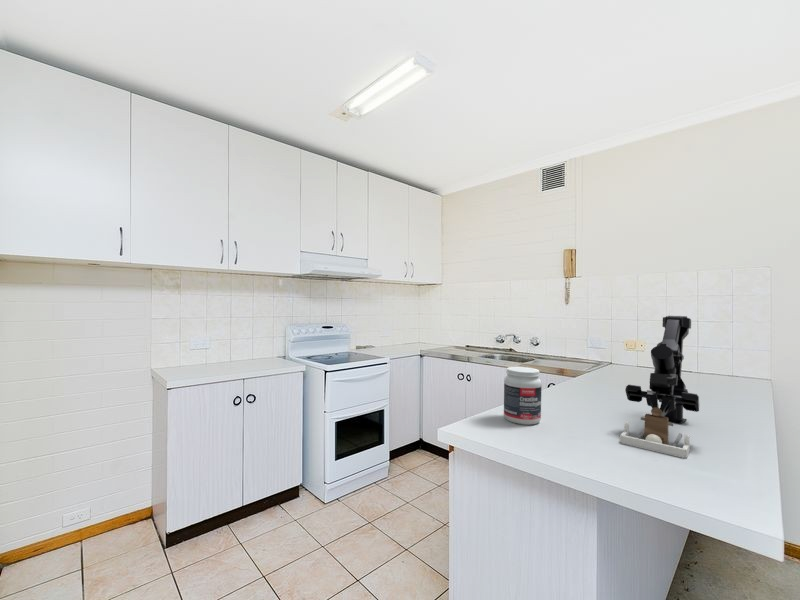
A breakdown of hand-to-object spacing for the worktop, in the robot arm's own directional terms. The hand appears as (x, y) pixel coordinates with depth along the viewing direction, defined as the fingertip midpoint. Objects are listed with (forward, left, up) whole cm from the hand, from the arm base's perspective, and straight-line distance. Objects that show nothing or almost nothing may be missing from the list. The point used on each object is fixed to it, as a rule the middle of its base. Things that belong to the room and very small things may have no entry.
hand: (657, 420), depth 114 cm
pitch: (-2, 0, -7) cm, 8 cm away
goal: (+6, +1, -7) cm, 9 cm away
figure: (+1, 0, -6) cm, 7 cm away
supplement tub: (+13, -38, -8) cm, 41 cm away
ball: (+6, +1, -5) cm, 8 cm away
